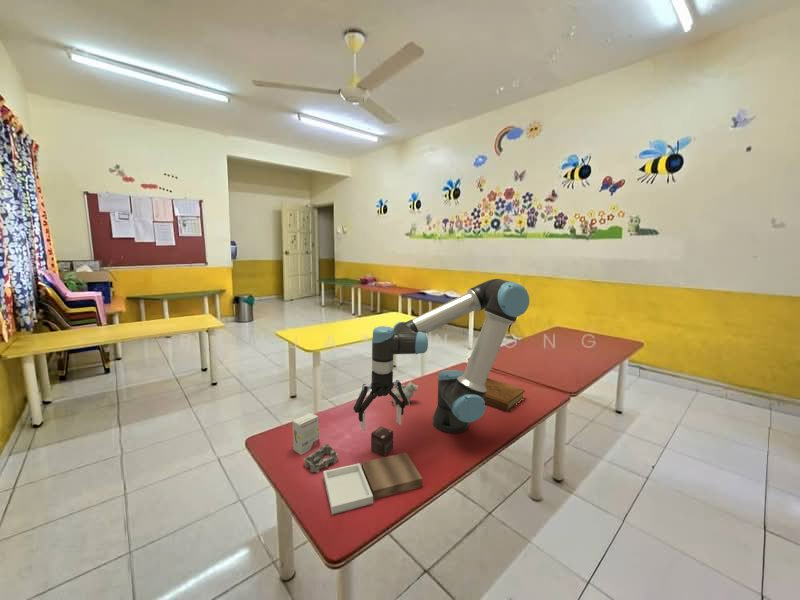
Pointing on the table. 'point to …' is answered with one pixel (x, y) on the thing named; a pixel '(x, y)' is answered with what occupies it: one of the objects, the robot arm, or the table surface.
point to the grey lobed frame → (317, 457)
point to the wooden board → (391, 475)
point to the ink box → (305, 433)
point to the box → (382, 441)
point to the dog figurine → (405, 391)
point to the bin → (347, 488)
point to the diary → (502, 395)
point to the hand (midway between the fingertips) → (381, 425)
